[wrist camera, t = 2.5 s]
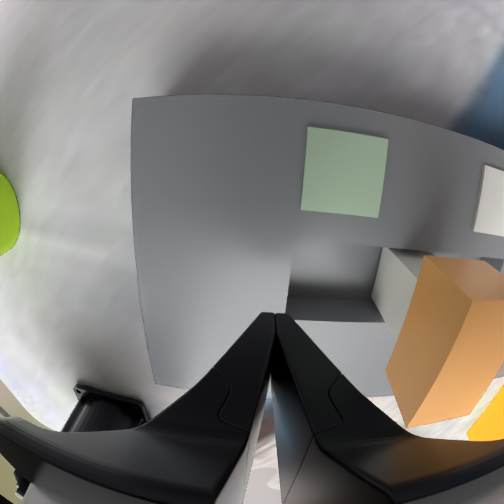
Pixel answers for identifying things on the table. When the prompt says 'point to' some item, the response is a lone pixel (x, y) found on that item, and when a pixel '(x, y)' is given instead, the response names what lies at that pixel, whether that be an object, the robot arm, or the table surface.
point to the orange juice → (490, 421)
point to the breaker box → (293, 222)
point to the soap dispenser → (8, 216)
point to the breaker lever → (440, 331)
